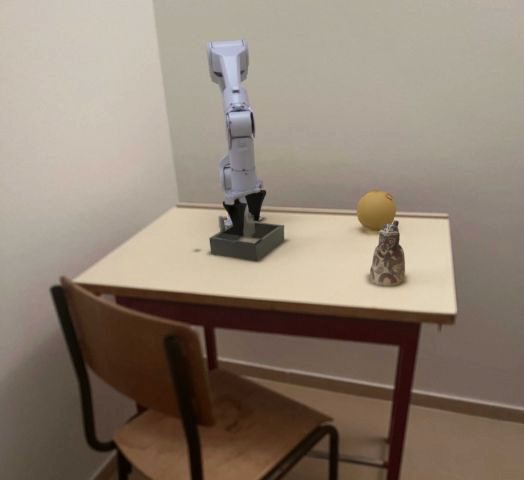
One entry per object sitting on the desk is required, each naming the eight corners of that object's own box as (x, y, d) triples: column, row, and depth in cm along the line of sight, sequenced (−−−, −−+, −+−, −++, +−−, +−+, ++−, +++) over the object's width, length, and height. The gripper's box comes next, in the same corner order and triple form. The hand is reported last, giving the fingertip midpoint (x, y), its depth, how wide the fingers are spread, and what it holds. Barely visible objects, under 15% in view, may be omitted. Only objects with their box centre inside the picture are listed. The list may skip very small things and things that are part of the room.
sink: (235, 233, 138) (233, 207, 134) (284, 240, 131) (283, 213, 128) (205, 252, 127) (202, 224, 124) (256, 261, 121) (255, 232, 117)
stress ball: (395, 236, 130) (398, 196, 125) (355, 235, 131) (357, 196, 126) (393, 222, 138) (396, 185, 133) (355, 222, 140) (357, 185, 134)
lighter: (248, 231, 131) (246, 199, 126) (255, 231, 130) (253, 200, 126) (239, 241, 125) (236, 209, 121) (246, 242, 125) (243, 209, 120)
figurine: (362, 279, 110) (366, 224, 103) (382, 268, 114) (386, 215, 107) (391, 288, 105) (396, 232, 99) (410, 277, 109) (416, 222, 103)
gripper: (241, 177, 112) (245, 237, 119) (272, 162, 122) (275, 218, 130) (214, 175, 115) (220, 233, 122) (247, 160, 125) (250, 214, 133)
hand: (246, 225), depth 126 cm, fingers closed on lighter, 7 cm apart
